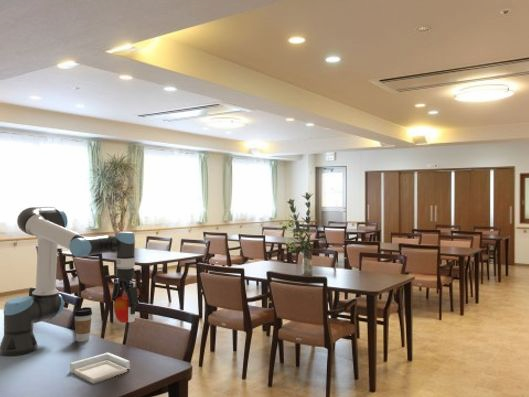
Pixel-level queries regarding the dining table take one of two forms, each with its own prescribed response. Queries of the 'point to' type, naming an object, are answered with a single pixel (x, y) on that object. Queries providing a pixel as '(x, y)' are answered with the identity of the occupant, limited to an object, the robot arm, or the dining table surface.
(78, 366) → the pen walls
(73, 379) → the dining table surface
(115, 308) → the apple
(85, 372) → the dish
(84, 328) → the coffee cup
